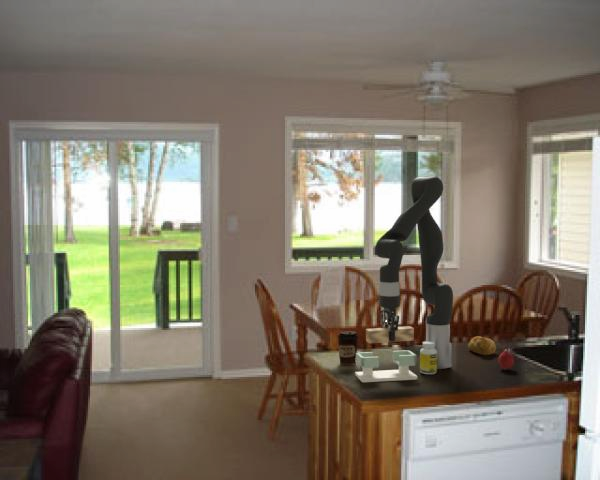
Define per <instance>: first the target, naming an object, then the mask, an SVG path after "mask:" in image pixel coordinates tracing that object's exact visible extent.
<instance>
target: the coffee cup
mask: <svg viewBox="0 0 600 480" xmlns="http://www.w3.org/2000/svg"><path fill="white" fill-rule="evenodd" d="M337 340H338V341H337V342H338V353H339V354H338V355H339V364H340V365H342V366H355V365H356V364H357V361H356V353H358V341H359V335H358V332H357V331H353V330H346V331H345V330H344V331H340V332H339V333H338V335H337Z"/></svg>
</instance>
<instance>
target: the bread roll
mask: <svg viewBox="0 0 600 480" xmlns="http://www.w3.org/2000/svg"><path fill="white" fill-rule="evenodd" d="M467 347H468V350H469V351H471V352H472V353H474V354H476V355H480V356H489V355H493V354H495V352H496V350H497V345H496V343H495V342H494V341H493V340H492V339H491V338H486V337H484V336H483V337H482V336H480V335H479V336H478V335H477V336H474V337H471V339H470V340H469V343H468V345H467Z"/></svg>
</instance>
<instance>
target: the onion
mask: <svg viewBox="0 0 600 480" xmlns="http://www.w3.org/2000/svg"><path fill="white" fill-rule="evenodd" d="M497 361H498V364H499V365H500V367H501V368H502V369H503V370H504V371H507V370H509V369H510V368H511V367H513V365H514V363H515V358H514V355H512V354H511V352H509V351H508V350H507V349H504V351H503V352H501V354H500V355H498V359H497Z"/></svg>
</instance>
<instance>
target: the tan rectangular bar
mask: <svg viewBox="0 0 600 480" xmlns="http://www.w3.org/2000/svg"><path fill="white" fill-rule="evenodd" d="M414 332H415V328H414V327H412V326H410V325H407V326H406V325H405V326H398V330H396V331H395V341H392V342H390V341H389V328H384V327H377V328H375V327H373V328H366V329H365V341H366V342H367V343H368V344H380V343H381V344H383V343H395V342H396V343H397V342H398V343H399V342H408V341H409V342H410V341H411V342H412V341H414V340H415V337H414V335H415V333H414Z"/></svg>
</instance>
